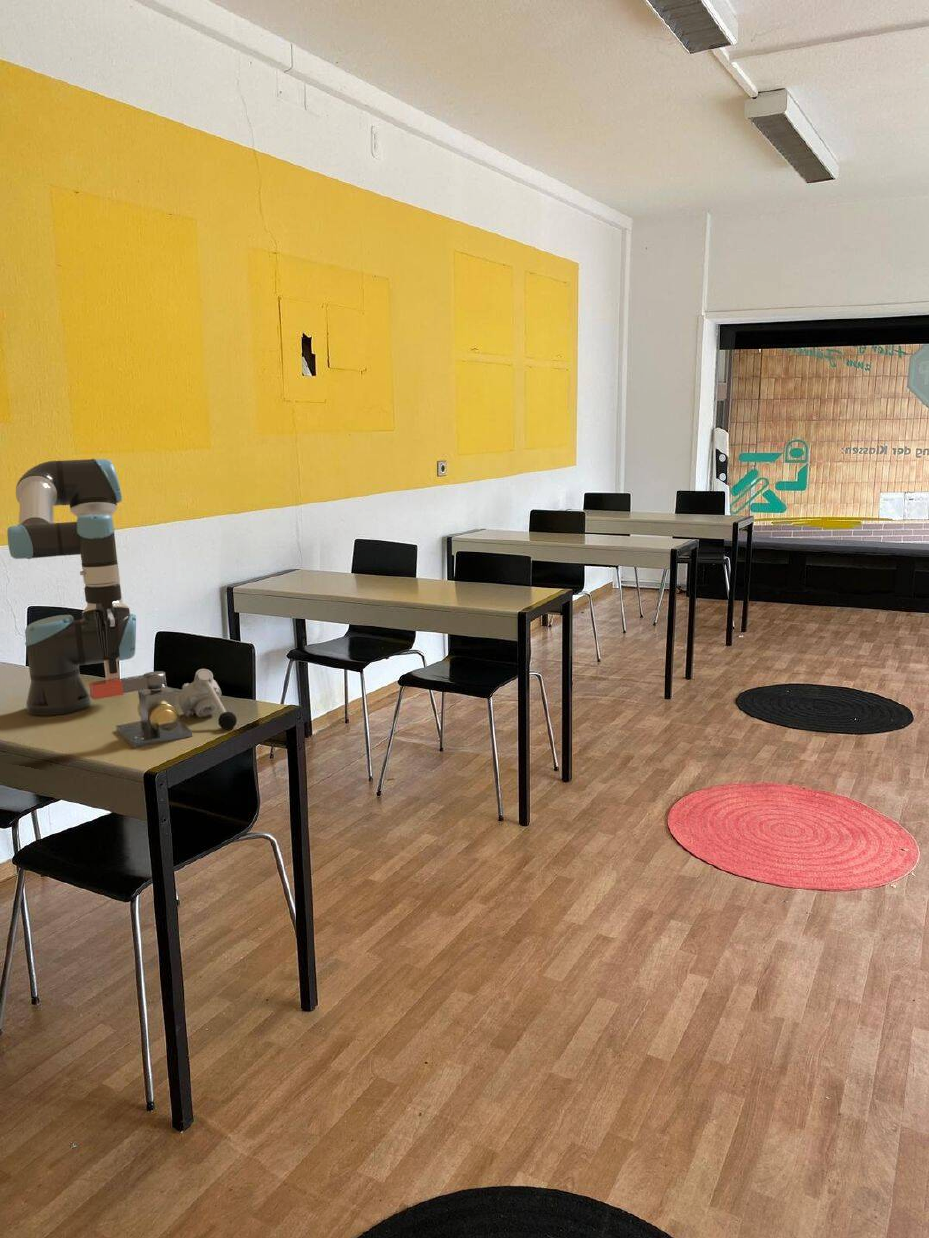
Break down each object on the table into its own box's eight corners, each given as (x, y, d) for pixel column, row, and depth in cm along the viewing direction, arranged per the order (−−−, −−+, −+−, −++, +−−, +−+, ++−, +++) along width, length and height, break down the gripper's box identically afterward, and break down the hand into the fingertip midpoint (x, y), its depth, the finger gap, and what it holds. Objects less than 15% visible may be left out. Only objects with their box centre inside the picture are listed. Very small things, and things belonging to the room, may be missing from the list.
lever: (89, 695, 211) (88, 682, 210) (163, 682, 219) (161, 669, 219) (94, 700, 207) (92, 686, 206) (169, 687, 215) (167, 673, 215)
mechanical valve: (211, 695, 238) (220, 659, 227) (242, 751, 230) (253, 716, 220) (172, 706, 231) (180, 670, 221) (202, 764, 224) (212, 729, 214)
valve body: (116, 730, 221) (111, 685, 218) (171, 719, 228) (167, 675, 225) (134, 748, 207) (128, 700, 205) (192, 736, 214) (187, 689, 212)
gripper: (78, 582, 212) (90, 683, 217) (90, 589, 201) (103, 695, 206) (112, 579, 216) (123, 678, 221) (126, 585, 205) (138, 689, 210)
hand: (113, 686), depth 213 cm, fingers closed
